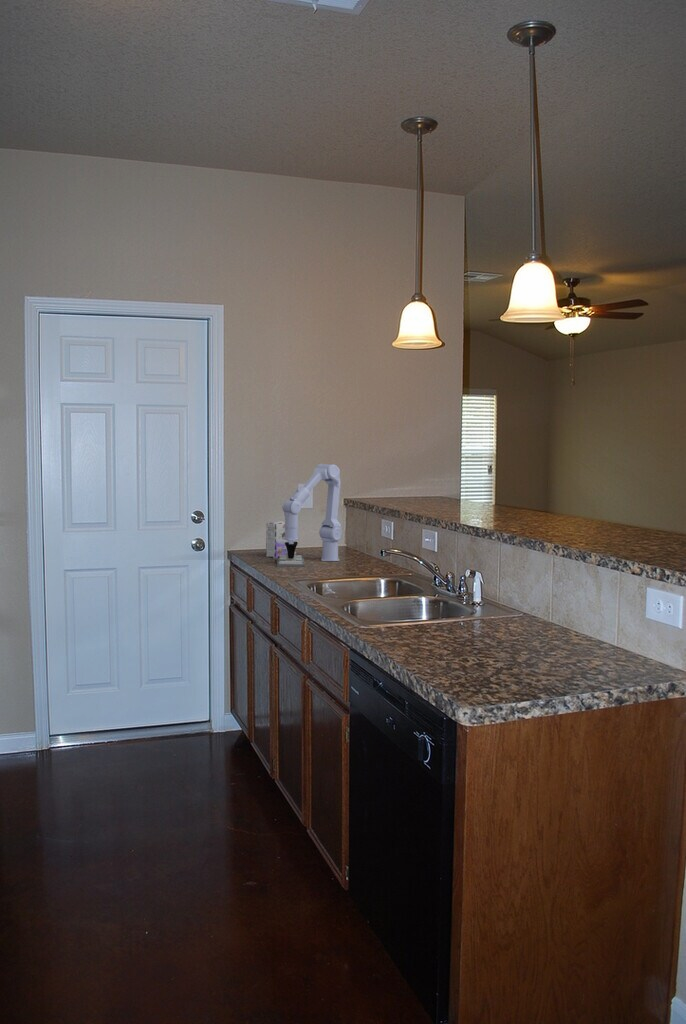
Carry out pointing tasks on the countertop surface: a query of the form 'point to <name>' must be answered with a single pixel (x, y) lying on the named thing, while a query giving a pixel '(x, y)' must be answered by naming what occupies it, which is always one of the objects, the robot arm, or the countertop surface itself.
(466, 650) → the countertop surface
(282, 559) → the rail mat
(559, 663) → the countertop surface
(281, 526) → the candy box
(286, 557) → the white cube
